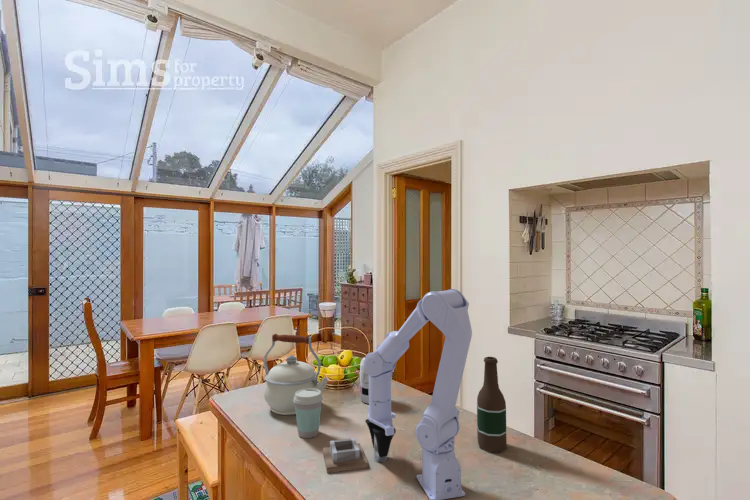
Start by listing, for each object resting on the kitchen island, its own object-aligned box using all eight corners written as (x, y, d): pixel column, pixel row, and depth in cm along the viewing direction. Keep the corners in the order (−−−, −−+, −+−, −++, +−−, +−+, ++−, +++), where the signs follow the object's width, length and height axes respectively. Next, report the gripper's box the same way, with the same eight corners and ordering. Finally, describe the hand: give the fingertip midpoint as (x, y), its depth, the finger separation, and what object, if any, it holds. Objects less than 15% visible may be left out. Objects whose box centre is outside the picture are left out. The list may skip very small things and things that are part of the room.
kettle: (248, 413, 128) (248, 338, 128) (278, 394, 145) (278, 328, 146) (316, 423, 120) (315, 343, 120) (339, 402, 137) (339, 332, 138)
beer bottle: (486, 455, 100) (485, 362, 100) (471, 441, 107) (470, 355, 108) (512, 451, 102) (511, 360, 102) (496, 438, 109) (495, 353, 110)
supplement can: (357, 398, 141) (356, 357, 141) (377, 395, 144) (377, 354, 145) (365, 406, 133) (365, 362, 134) (387, 402, 137) (386, 360, 137)
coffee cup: (327, 436, 111) (327, 394, 111) (298, 443, 107) (298, 399, 107) (316, 425, 119) (316, 385, 119) (289, 431, 114) (289, 390, 115)
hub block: (367, 467, 94) (367, 452, 95) (326, 472, 92) (326, 457, 92) (359, 447, 104) (359, 434, 104) (322, 452, 102) (322, 438, 102)
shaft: (388, 461, 97) (387, 433, 97) (375, 463, 96) (375, 435, 97) (384, 455, 100) (384, 428, 100) (372, 456, 100) (372, 429, 100)
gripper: (405, 406, 93) (406, 463, 93) (384, 387, 107) (385, 436, 107) (378, 410, 91) (378, 468, 91) (360, 390, 105) (360, 441, 104)
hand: (380, 451), depth 98 cm, fingers open, 4 cm apart
